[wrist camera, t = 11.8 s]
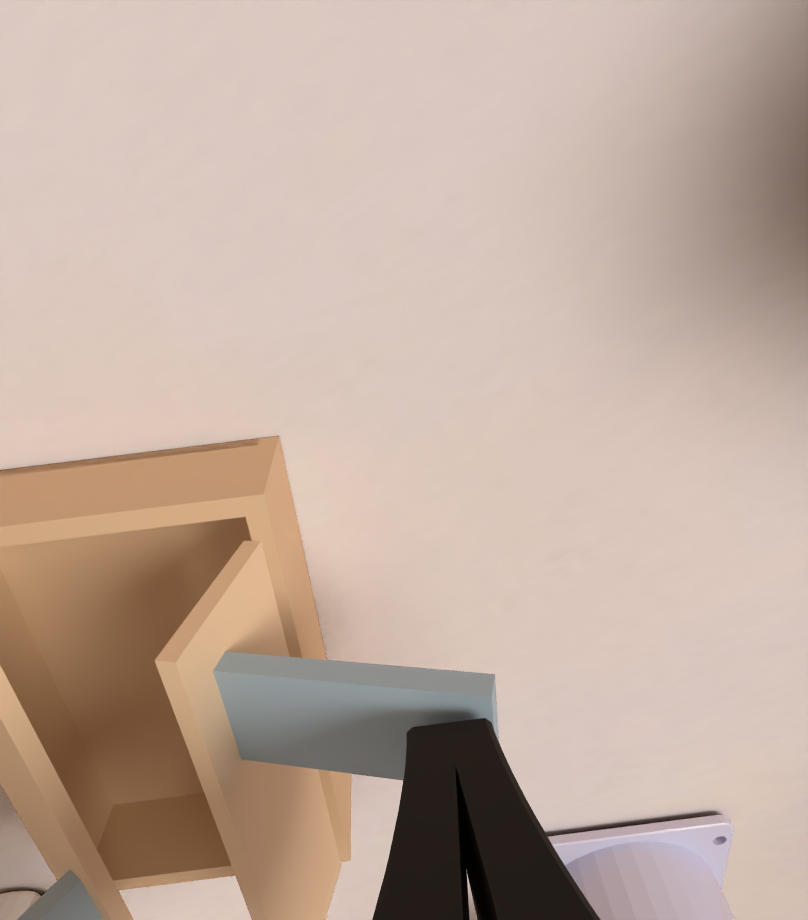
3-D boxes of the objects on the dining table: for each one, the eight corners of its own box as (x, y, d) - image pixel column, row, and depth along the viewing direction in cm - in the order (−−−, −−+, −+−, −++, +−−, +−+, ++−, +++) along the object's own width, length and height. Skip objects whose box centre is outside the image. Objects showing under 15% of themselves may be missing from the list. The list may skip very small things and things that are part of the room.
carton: (351, 774, 22) (350, 860, 20) (107, 805, 22) (73, 895, 20) (278, 435, 17) (263, 493, 14) (-53, 476, 17) (-132, 543, 14)
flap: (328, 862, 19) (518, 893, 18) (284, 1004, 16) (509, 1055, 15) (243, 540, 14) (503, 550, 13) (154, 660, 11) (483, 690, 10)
